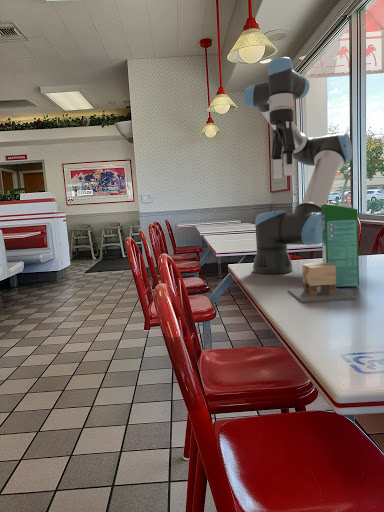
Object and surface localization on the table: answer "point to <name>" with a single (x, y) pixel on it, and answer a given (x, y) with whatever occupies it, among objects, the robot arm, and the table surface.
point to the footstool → (319, 277)
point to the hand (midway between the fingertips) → (283, 177)
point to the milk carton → (341, 242)
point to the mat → (320, 295)
